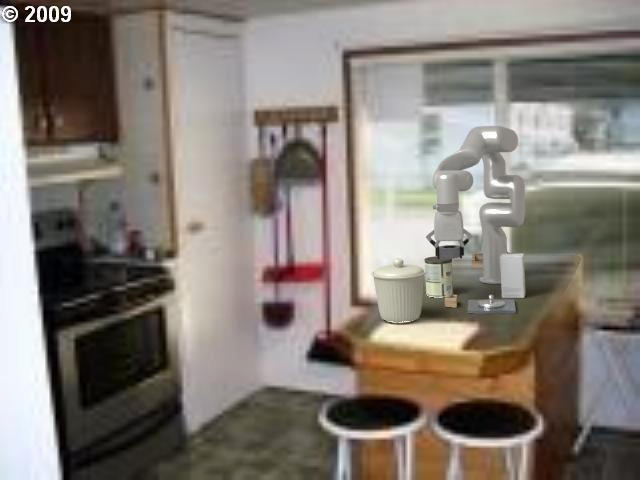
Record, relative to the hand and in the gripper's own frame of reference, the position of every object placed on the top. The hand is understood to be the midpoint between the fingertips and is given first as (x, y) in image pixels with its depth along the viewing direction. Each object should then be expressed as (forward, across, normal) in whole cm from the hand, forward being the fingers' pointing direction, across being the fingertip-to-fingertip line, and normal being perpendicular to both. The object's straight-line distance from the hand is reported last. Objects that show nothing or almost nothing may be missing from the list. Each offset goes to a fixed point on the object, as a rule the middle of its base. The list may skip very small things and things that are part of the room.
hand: (449, 257), depth 280 cm
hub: (+17, +14, -4) cm, 23 cm away
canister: (+17, -16, -20) cm, 31 cm away
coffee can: (+18, -5, +16) cm, 24 cm away
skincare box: (+18, +22, +13) cm, 31 cm away
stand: (+17, 0, 0) cm, 17 cm away
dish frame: (+18, +16, +76) cm, 79 cm away
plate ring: (0, 0, 0) cm, 0 cm away
